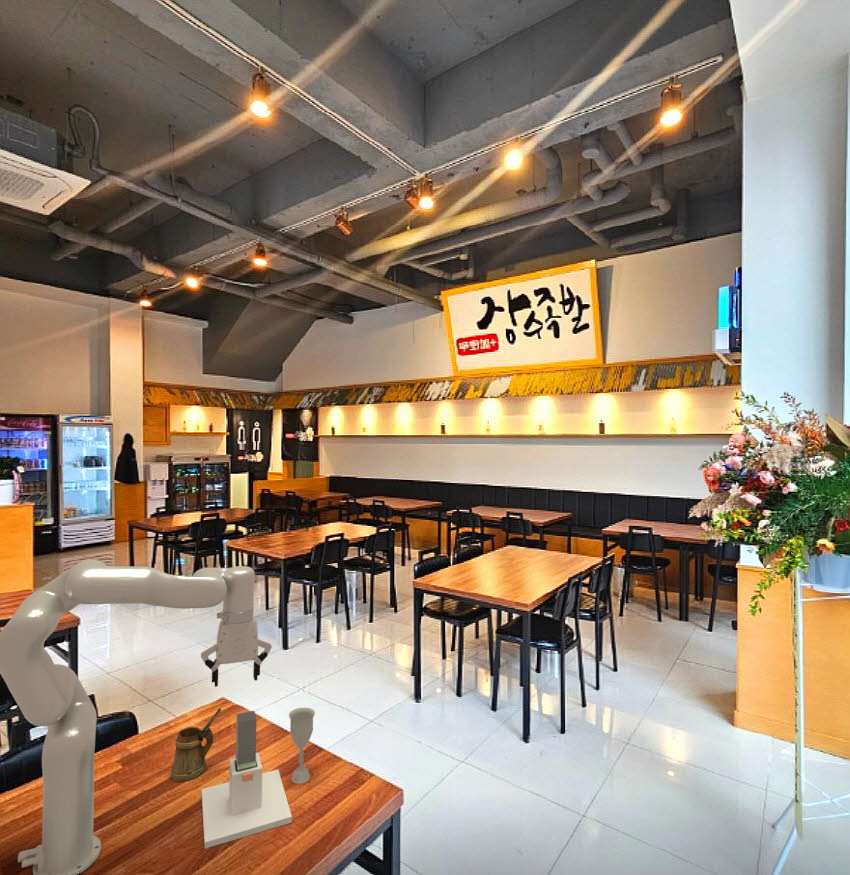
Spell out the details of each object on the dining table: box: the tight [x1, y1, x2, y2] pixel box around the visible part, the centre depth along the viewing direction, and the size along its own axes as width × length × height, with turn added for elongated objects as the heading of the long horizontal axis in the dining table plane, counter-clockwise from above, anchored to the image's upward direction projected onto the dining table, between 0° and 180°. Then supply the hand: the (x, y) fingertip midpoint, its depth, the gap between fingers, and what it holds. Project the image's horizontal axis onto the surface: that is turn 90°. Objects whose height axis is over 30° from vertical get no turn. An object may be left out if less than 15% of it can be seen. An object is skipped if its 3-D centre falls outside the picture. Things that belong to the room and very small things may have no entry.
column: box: [235, 710, 257, 772], centre depth 133 cm, size 4×4×16 cm
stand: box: [201, 752, 293, 849], centre depth 133 cm, size 20×20×12 cm
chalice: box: [288, 707, 316, 785], centre depth 145 cm, size 7×7×18 cm
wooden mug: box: [170, 707, 222, 783], centre depth 147 cm, size 9×14×18 cm, turn 92°
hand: (235, 681), depth 134 cm, fingers open, 9 cm apart
